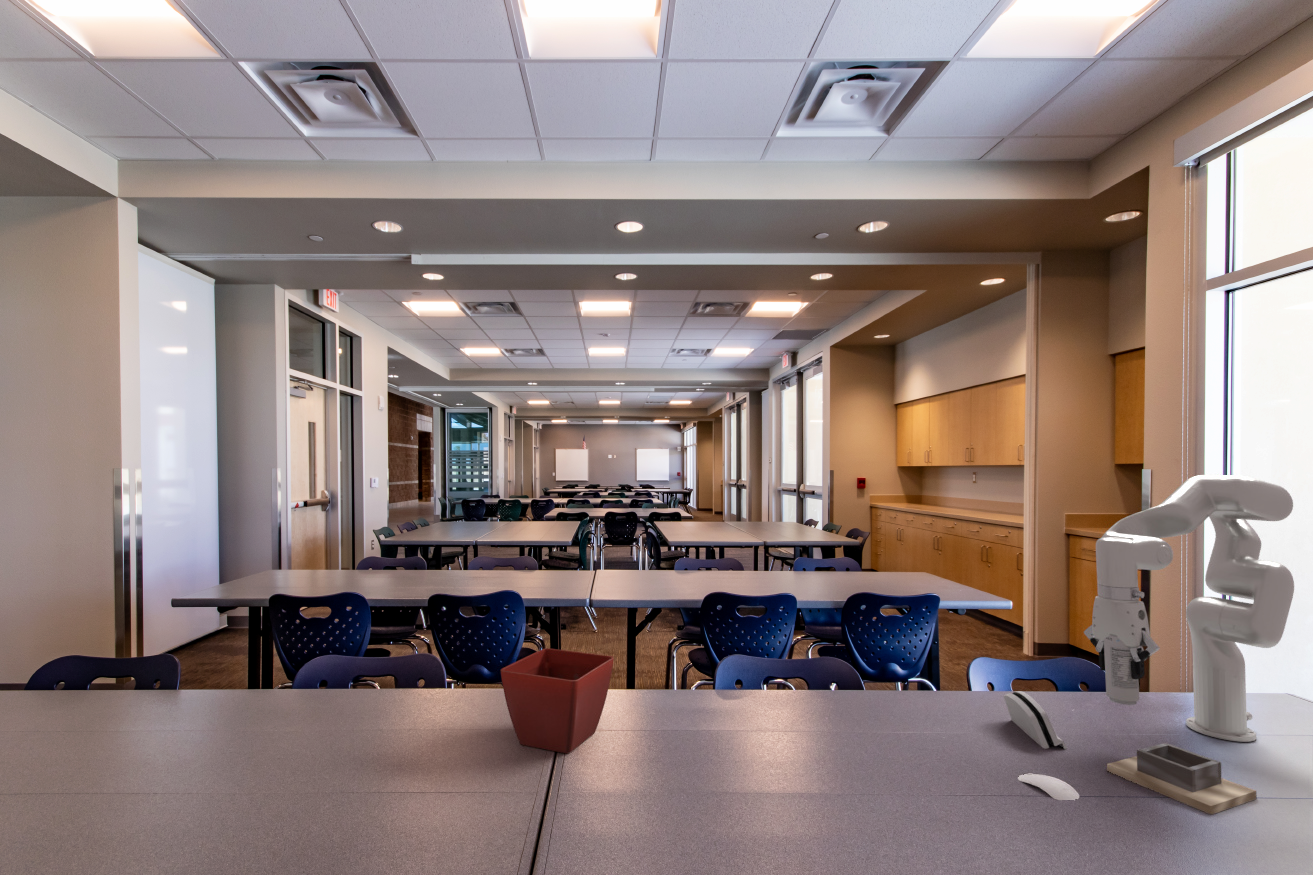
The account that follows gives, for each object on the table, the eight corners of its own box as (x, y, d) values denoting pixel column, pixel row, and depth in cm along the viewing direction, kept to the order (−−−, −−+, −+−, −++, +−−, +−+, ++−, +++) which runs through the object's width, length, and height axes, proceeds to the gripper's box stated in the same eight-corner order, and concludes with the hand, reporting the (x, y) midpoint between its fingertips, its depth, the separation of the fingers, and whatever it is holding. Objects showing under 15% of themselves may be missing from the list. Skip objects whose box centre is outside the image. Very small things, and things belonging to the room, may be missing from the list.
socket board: (1151, 759, 139) (1150, 733, 139) (1256, 798, 122) (1255, 768, 122) (1107, 771, 133) (1106, 743, 133) (1211, 814, 116) (1210, 783, 116)
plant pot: (495, 747, 139) (498, 668, 140) (543, 717, 157) (545, 646, 158) (573, 764, 132) (575, 680, 133) (614, 730, 150) (615, 656, 151)
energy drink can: (1135, 698, 146) (1132, 631, 147) (1142, 707, 141) (1139, 637, 141) (1103, 694, 149) (1100, 628, 149) (1109, 703, 143) (1106, 635, 144)
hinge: (1067, 749, 143) (1050, 705, 144) (1046, 755, 143) (1029, 711, 144) (1032, 720, 159) (1017, 681, 160) (1013, 726, 160) (998, 687, 161)
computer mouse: (1032, 772, 133) (1032, 760, 133) (1089, 801, 121) (1089, 788, 122) (1007, 777, 130) (1007, 765, 130) (1063, 807, 119) (1063, 794, 119)
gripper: (1170, 598, 139) (1175, 682, 139) (1089, 585, 155) (1093, 661, 154) (1149, 601, 136) (1153, 688, 136) (1069, 588, 152) (1072, 665, 151)
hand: (1121, 672), depth 145 cm, fingers closed on energy drink can, 6 cm apart
